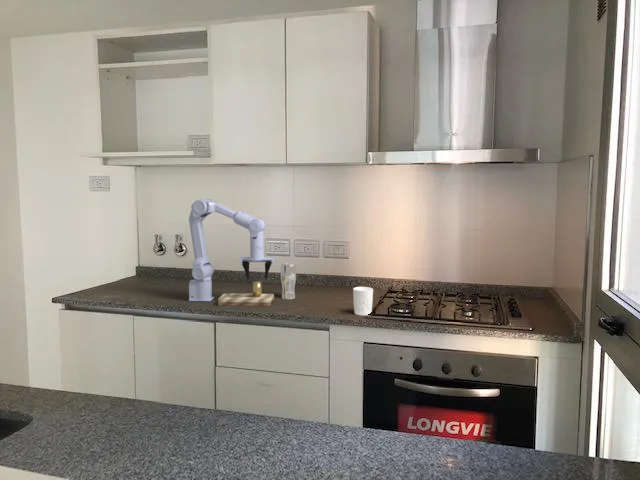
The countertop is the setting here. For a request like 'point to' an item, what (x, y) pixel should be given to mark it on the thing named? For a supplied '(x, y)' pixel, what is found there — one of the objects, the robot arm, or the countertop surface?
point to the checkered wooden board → (245, 299)
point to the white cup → (362, 300)
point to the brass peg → (257, 289)
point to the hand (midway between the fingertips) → (257, 278)
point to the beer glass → (288, 280)
